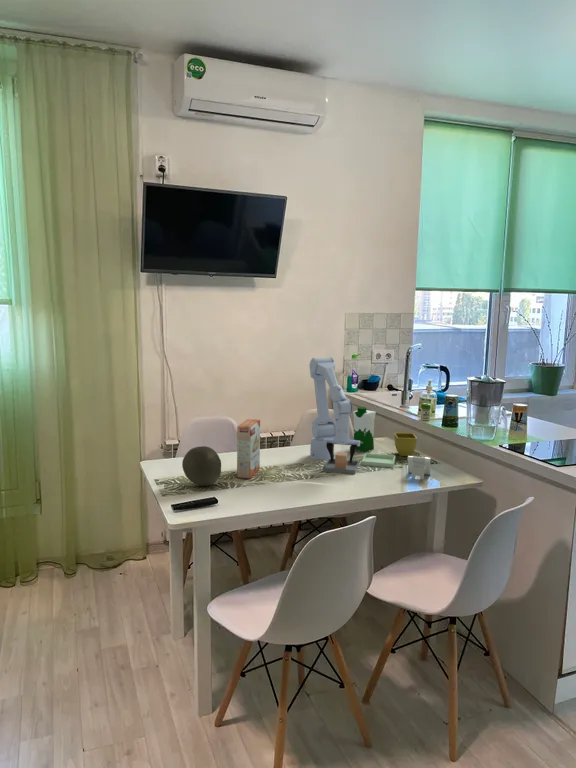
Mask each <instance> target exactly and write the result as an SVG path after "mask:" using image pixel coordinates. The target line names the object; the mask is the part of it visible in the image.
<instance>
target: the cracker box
mask: <svg viewBox="0 0 576 768" xmlns="http://www.w3.org/2000/svg"><path fill="white" fill-rule="evenodd" d="M236 429H237V430H236V434H237V435H236V442H237V443H236V478H237V479H238V478H239V479H247V480H248V479H251V478H252V477H253V476H254V475H255V474H256V473H257V472H258V471H259V470H260V468H261V467H260V463H261V460H260V456H261V452H260V451H261V450H260V449H261V448H260V447H261V419H252V418H248V419H245V420H244V421H243V422H241V423H240V424H239V425H237V427H236Z"/></svg>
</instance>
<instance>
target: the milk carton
mask: <svg viewBox="0 0 576 768" xmlns="http://www.w3.org/2000/svg"><path fill="white" fill-rule="evenodd" d="M376 414H377V411H376V410H375V411H373V410H368V409H367V407H365V406H358V407H357V410H354V411H352V415H353V439H352V440H359V441H360V446H357V448H356V450H355V451H358V450H360V451H359V452H362V451H364V452H363V453H367V452H369V450H370V451H373V450H375V444H374V438H375V437H374V436H375V433H374V432H375V418H376ZM366 451H367V452H366Z"/></svg>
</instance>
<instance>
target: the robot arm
mask: <svg viewBox="0 0 576 768" xmlns="http://www.w3.org/2000/svg"><path fill="white" fill-rule="evenodd" d="M308 366H309V373H310V378H311V379H313V383H314V393H315V394H314V395H315V401H316V412H317V416H316V418H315V419H313V420H312V422H311V423H312V425H311V434H312V436H313V437H311V440H310V449H309V450H310V452H309V455H310V456H309V457H310V458H309V459H312V460H323V461H328V459H331V462H333V461H334V459H335V454H334V451H335V445H342V446H343V445H344V446H350V447H349V460H350V463H352V461H353V460H354V459H353V458H354V455H355V452H356V451H357V450H356V448H357V446H360V441H359V440H353V439H351V438H350V421H351V420H350V418H351V415H350V414H353V409H354V408H353V402H352V401H351V399H349V397H347V396H346V394H345V391H344V389H343V387H342V386H341V385H339V383H338V379H337V377H336V373H335V370H336V361H335V359H334V358H333V357H318V358H315V357H312V358H311V360H310V362H309V365H308ZM326 383H327V385H328V387H329V390H328V394H329V396H330V399H331V401H332V402H333V406H332V411H333V416H334V418H333V417H331V416H330V413H329V412H330V411H329V403H328V394H327V385H326Z"/></svg>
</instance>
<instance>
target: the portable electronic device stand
mask: <svg viewBox="0 0 576 768" xmlns="http://www.w3.org/2000/svg"><path fill="white" fill-rule="evenodd" d="M407 473H408V474H411V479H413V478H414V479H413V480H416V477H417V476H418V477H419V479H420V480H424V479H425V475H426V476H427V475H429V476H431V457H427V456H426V457H422V456H413V455H411V456H407Z"/></svg>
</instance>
